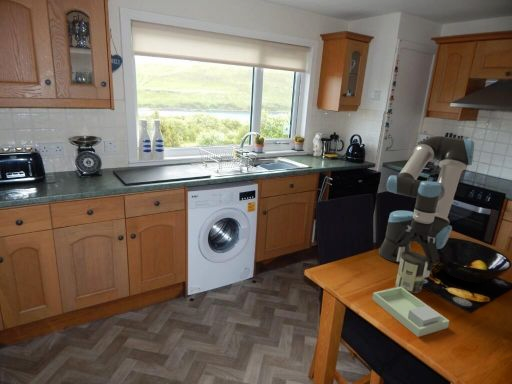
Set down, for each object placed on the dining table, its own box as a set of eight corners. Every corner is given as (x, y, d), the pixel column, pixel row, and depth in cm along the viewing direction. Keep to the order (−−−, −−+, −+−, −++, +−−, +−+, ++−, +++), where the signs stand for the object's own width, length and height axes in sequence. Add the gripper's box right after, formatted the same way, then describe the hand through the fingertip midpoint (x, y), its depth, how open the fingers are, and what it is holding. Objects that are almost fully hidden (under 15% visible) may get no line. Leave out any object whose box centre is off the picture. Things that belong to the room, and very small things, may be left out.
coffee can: (418, 282, 146) (424, 253, 142) (424, 295, 137) (431, 264, 133) (393, 278, 148) (399, 249, 144) (397, 291, 138) (404, 260, 134)
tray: (399, 294, 137) (400, 286, 136) (447, 329, 117) (449, 320, 116) (371, 300, 131) (373, 292, 130) (417, 338, 112) (419, 329, 111)
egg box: (423, 316, 123) (426, 305, 121) (437, 326, 117) (440, 315, 116) (407, 320, 120) (409, 310, 118) (420, 331, 114) (423, 320, 113)
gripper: (392, 210, 143) (383, 256, 149) (443, 233, 121) (430, 285, 127) (405, 209, 146) (396, 254, 152) (457, 231, 124) (444, 282, 130)
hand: (411, 268), depth 140 cm, fingers open, 13 cm apart
